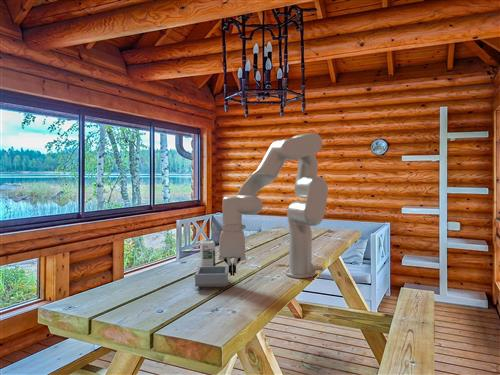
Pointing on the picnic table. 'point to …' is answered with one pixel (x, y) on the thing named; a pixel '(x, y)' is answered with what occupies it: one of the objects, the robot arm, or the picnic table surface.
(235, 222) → the robot arm
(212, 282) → the grey square cubby
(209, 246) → the syrup box
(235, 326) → the picnic table surface
